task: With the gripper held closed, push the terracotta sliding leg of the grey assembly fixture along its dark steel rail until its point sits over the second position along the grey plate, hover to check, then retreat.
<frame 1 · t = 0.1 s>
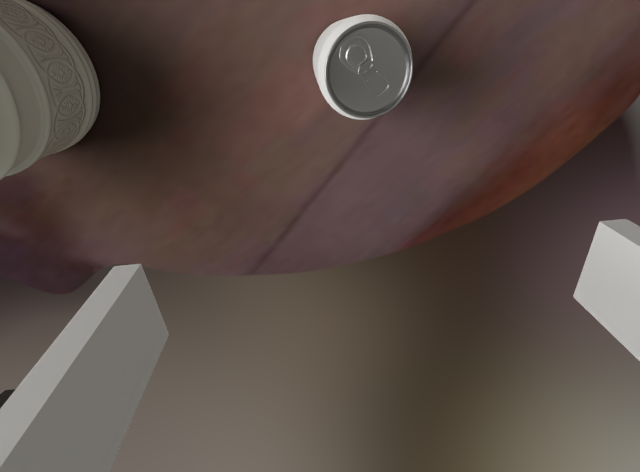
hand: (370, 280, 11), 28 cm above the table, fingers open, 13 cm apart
can: (347, 60, 33), on the table
jar: (29, 76, 33), on the table
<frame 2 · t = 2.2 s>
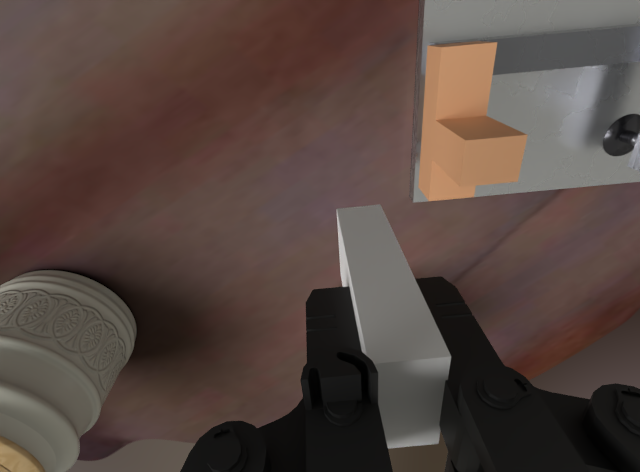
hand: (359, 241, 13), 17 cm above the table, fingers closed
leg: (458, 129, 21), point 6 cm above the table, slide at 0.0 cm
jar: (72, 318, 35), on the table
grey assembly fixture: (546, 98, 27), on the table
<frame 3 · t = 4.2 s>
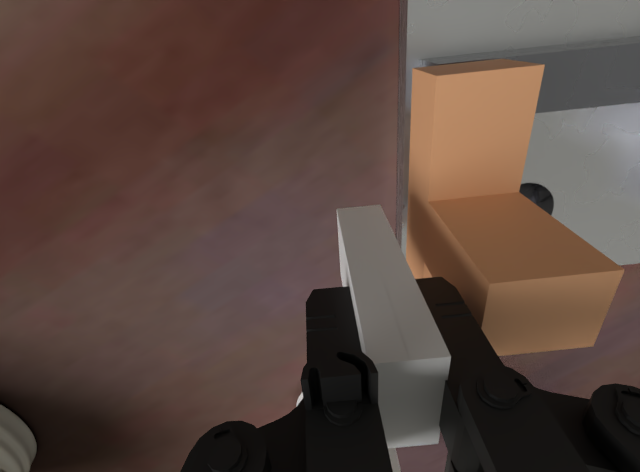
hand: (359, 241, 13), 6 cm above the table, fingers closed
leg: (469, 214, 12), point 6 cm above the table, slide at 0.0 cm, touching gripper
grey assembly fixture: (600, 138, 17), on the table
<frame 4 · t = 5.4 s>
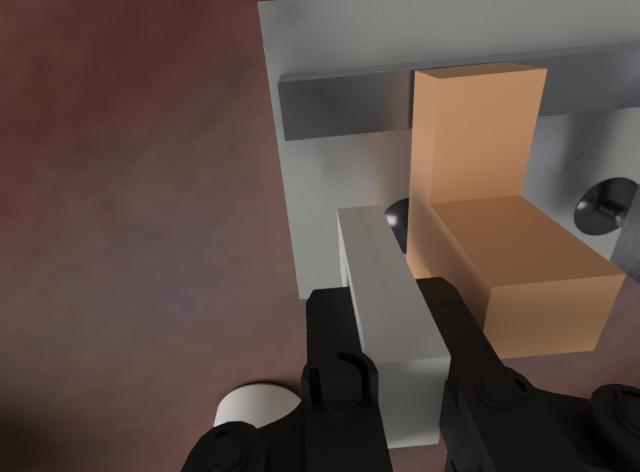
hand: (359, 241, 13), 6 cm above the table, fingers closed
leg: (470, 216, 12), point 6 cm above the table, slide at 5.6 cm, touching gripper
can: (262, 405, 27), on the table
grey assembly fixture: (486, 153, 18), on the table
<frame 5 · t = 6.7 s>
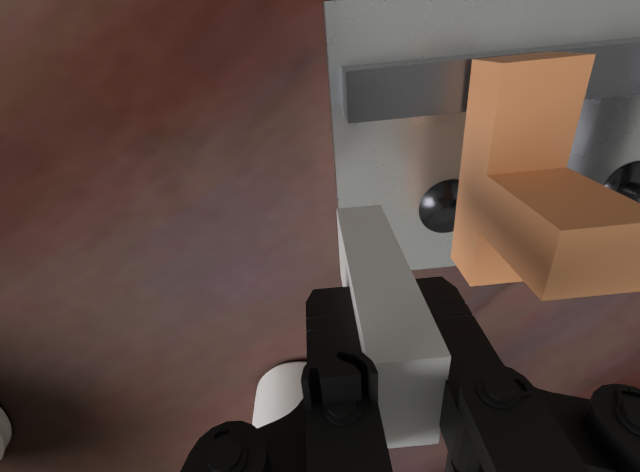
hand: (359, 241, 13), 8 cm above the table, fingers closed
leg: (521, 187, 14), point 6 cm above the table, slide at 5.8 cm
can: (298, 384, 28), on the table
grey assembly fixture: (518, 139, 19), on the table
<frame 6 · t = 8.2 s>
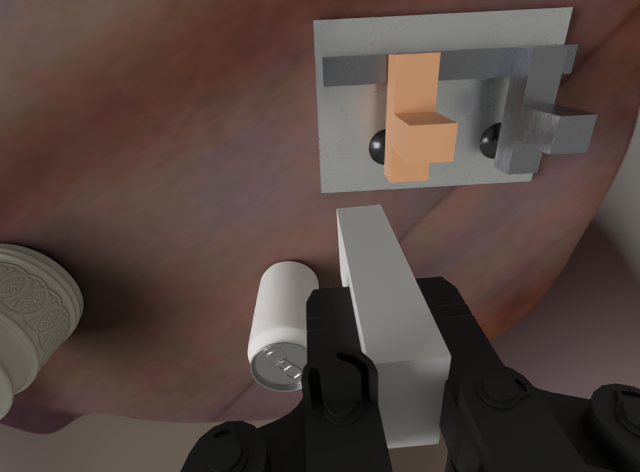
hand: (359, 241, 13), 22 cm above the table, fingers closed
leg: (412, 122, 26), point 6 cm above the table, slide at 5.8 cm
can: (289, 282, 40), on the table
jar: (25, 290, 39), on the table
grey assembly fixture: (430, 107, 32), on the table
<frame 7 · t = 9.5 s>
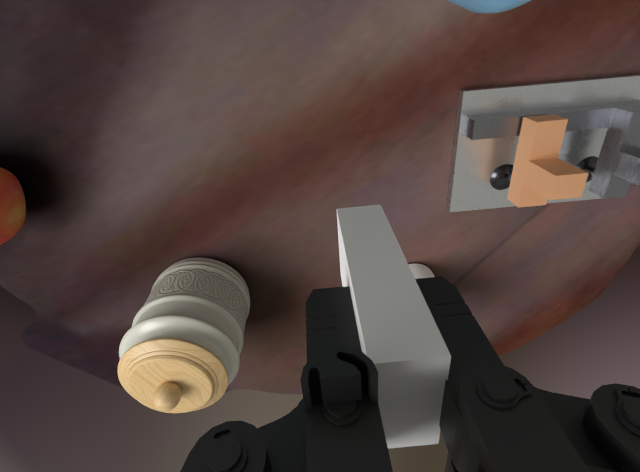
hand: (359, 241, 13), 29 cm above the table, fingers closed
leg: (540, 165, 36), point 6 cm above the table, slide at 5.8 cm
jar: (205, 292, 50), on the table
apple: (4, 185, 41), on the table
grey assembly fixture: (537, 146, 42), on the table
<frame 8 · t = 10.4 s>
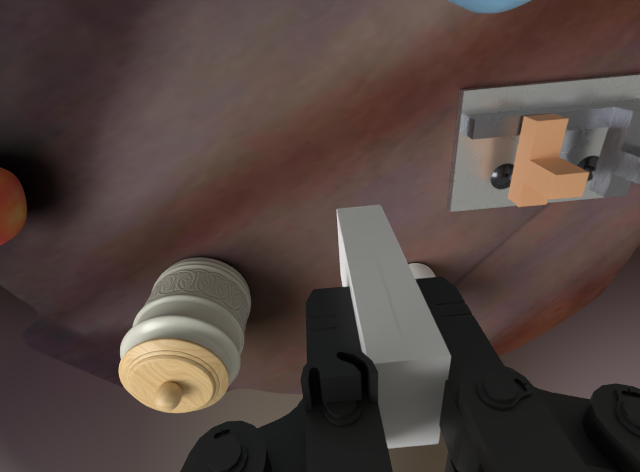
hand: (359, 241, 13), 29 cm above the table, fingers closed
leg: (541, 164, 36), point 6 cm above the table, slide at 5.8 cm
jar: (206, 292, 50), on the table
apple: (5, 185, 41), on the table
grey assembly fixture: (537, 145, 42), on the table
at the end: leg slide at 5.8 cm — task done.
